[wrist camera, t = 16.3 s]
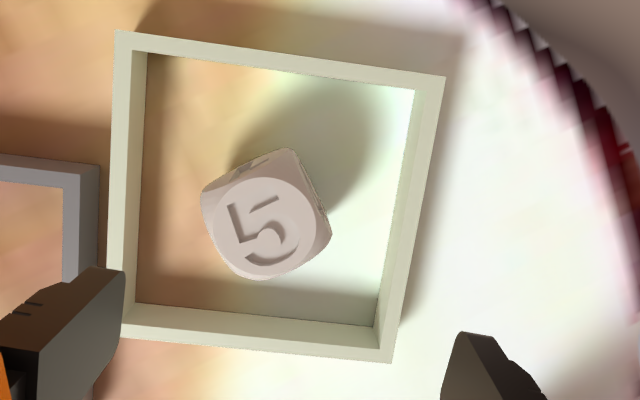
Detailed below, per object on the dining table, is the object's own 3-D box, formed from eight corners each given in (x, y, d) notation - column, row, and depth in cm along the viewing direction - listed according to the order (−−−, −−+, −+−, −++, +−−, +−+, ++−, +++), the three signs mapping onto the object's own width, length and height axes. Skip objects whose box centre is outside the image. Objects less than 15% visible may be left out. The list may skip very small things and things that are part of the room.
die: (291, 140, 27) (289, 155, 22) (330, 220, 28) (336, 251, 23) (209, 180, 27) (189, 203, 22) (251, 257, 28) (241, 295, 24)
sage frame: (432, 76, 26) (446, 76, 24) (383, 340, 30) (391, 363, 27) (132, 33, 25) (114, 29, 23) (120, 313, 29) (103, 335, 26)
